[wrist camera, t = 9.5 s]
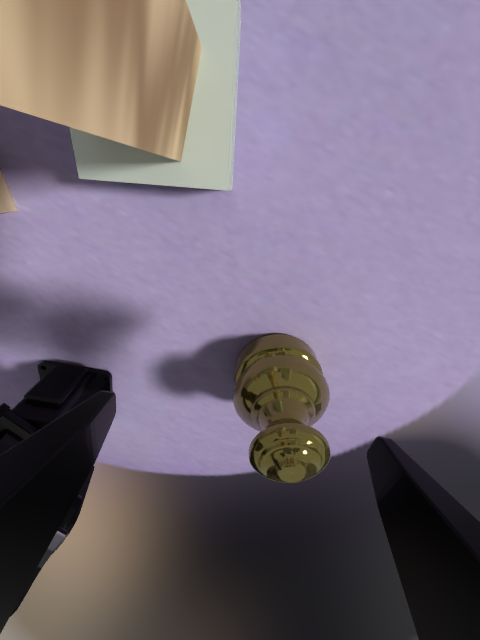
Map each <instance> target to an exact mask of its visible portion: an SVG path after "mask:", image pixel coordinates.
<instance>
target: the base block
mask: <svg viewBox="0 0 480 640" xmlns="http://www.w3.org/2000/svg"><path fill="white" fill-rule="evenodd" d="M186 2H187V5H188V8H189V11H190V14H191V17H192V20H193V23H194V26H195V28H196V31H197V34H198V37H199V40H200V43H201V46H202V50H201V55H200V61H199V66H198V72H197V77H196V83H195V88H194V93H193V99H192V104H191V110H190V115H189V121H188V126H187V131H186V137H185V142H184V148H183V153H182V159H181V162H180V161H177V160H174V159H170V158H167V157H164V156H161V155H158V154H154V153H151V152H148V151H145V150H142V149H138V148H135V147H132V146H129V145H126V144H123V143H119V142H116V141H113V140H110V139H107V138H103V137H100V136H97V135H94V134H91V133H87V132H84V131H81V130H78V129H75V128H71V127H69V129H70V134H71V140H72V145H73V150H74V155H75V161H76V166H77V171H78V176H79V179H89V180H101V181H114V182H126V183H139V184H151V185H164V186H176V187H189V188H201V189H214V190H226V191H229V190H231V189H232V184H233V165H234V145H235V126H236V106H237V87H238V67H239V48H240V28H241V4H240V0H186Z"/></svg>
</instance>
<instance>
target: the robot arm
mask: <svg viewBox="0 0 480 640" xmlns="http://www.w3.org/2000/svg"><path fill="white" fill-rule="evenodd" d="M38 370H39V375H40V381H39V382H38V383H37V384H36V385H35V386H34V387H33V388H32V389H30V390H29V391H28V392H27V393H26V394H25V395H24V399H23V400H22V401H21V402H20V403H18V404H17V405H16V406H15V407H14V408H13V409H12V410H11V409H9V408H10V407H9V406H8V405H6V404H5V403H3V404H1V405H0V633H1V632H2V630H3V628H4V626H5V624H6V622H7V621H8V619H9V617H10V616H11V615H12V614H14V612H15V611H16V610H17V609H18V607H19V606H20V604H21V602H22V601H23V599H24V597H25V595H26V594H27V592H28V590H29V589H30V587H31V585H32V583H33V581H34V580H35V578H36V577H37V575H38V573H39V572H40V570H41V568H42V567H43V565H44V564H45V563H46V561H47V560H48V558H49V557H50V555H51V554H52V553H54V551H55V550H56V549H57V548H58V547H59V546H60V545H61V544H62V542H63V541H64V540H65V538H66V537H67V536H68V534H69V533H70V531H71V529H72V528H73V526H74V524H75V522H76V520H77V518H78V516H79V513H80V511H81V508H82V504H83V501H84V498H85V495H86V492H87V489H88V486H89V483H90V479H91V476H92V474H93V470H94V466H93V465H94V463H95V461H96V459H97V457H98V454H99V452H100V450H101V447H102V445H103V443H104V440H105V438H106V436H107V433H108V431H109V429H110V426H111V424H112V422H113V419H114V417H115V413H116V396H115V393H114V392H113V391H112V375H111V374H110V373H109V372H107V371H101V370H96V369H90V368H84V367H78V366H72V365H66V364H61V363H55V362H49V361H42V362H41V363H40V364H39V365H38ZM106 377H107V378H106ZM367 460H368V464H369V470H370V474H371V479H372V483H373V488H374V493H375V498H376V502H377V505H378V509H379V513H380V516H381V519H382V522H383V526H384V529H385V532H386V535H387V538H388V542H389V545H390V548H391V552H392V555H393V558H394V561H395V564H396V567H397V571H398V574H399V577H400V581H401V584H402V587H403V590H404V593H405V597H406V600H407V603H408V606H409V610H410V613H411V616H412V619H413V622H414V626H415V629H416V632H417V635H418V639H419V640H480V521H478V520H477V519H476V518H475V517H474V516H473V515H472V514H471V513H470V512H469V511H468V510H467V509H466V508H464V506H462V505H461V504H460V503H459V502H458V501H457V500H456V499H455V498H454V497H453V496H452V495H451V494H450V493H449V492H447V491H446V490H445V489H444V488H443V487H442V486H441V485H440V484H439V483H438V482H437V481H436V480H435V479H434V478H433V477H431V476H430V475H429V474H428V473H427V472H426V471H425V470H424V469H423V468H422V467H421V466H420V465H419V464H418V463H417V462H415V461H414V460H413V459H412V458H411V457H410V456H409V455H408V454H407V453H406V452H405V451H404V450H403V449H401V448H400V447H399V446H398V445H397V444H396V443H395V442H394V441H393V440H392V439H390V438H387V437H381V436H378V437H377V438H376V439H375V440H374V442H373V443H372V445H371V446H370V448H369V449H368V451H367Z"/></svg>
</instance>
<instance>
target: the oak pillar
mask: <svg viewBox="0 0 480 640" xmlns="http://www.w3.org/2000/svg"><path fill="white" fill-rule="evenodd" d="M201 50H202V46H201V43H200V40H199V37H198V34H197V31H196V28H195V26H194V23H193V20H192V17H191V14H190V11H189V8H188V5H187V2H186V0H0V105H1V106H4V107H7V108H11V109H14V110H17V111H20V112H23V113H27V114H30V115H33V116H36V117H39V118H43V119H46V120H49V121H52V122H55V123H59V124H62V125H65V126H68V127H71V128H75V129H78V130H81V131H84V132H87V133H91V134H94V135H97V136H100V137H103V138H107V139H110V140H113V141H116V142H119V143H123V144H126V145H129V146H132V147H135V148H138V149H142V150H145V151H148V152H151V153H154V154H158V155H161V156H164V157H167V158H170V159H174V160H177V161H180V162H181V159H182V153H183V148H184V142H185V137H186V131H187V126H188V121H189V115H190V110H191V104H192V99H193V93H194V88H195V83H196V77H197V72H198V66H199V61H200V55H201Z"/></svg>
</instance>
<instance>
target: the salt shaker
mask: <svg viewBox="0 0 480 640" xmlns="http://www.w3.org/2000/svg"><path fill="white" fill-rule="evenodd" d="M234 384H235V388H234V393H233V403H234V407H235V410H236V412H237V414H238V415H239V417H240V418H241V419H242V420H243V421H244V422H245V423H246V424H247V425H248V426H250V427H251V428H253V429H255V430H257V431H260V433H259V434H258V435H257V436H256V437H255V438H254V439H253V440H252V442H251V444H250V447H249V459H250V463H251V465H252V467H253V468H254V469H255V470H256V471H257V472H258V473H259V474H261V475H262V476H264V477H266V478H268V479H271V480H274V481H278V482H285V483H295V482H300V481H304V480H306V479H309V478H311V477H313V476H315V475H317V474H318V473H319V472H321V471H322V470H323V469H324V468H325V466H326V465H327V464H328V462H329V460H330V447H329V444H328V441H327V440H326V438H325V437H324V436H323V435H322V434H321V433H320V432H319V431H317V430H316V429H314V428H312V427H310V426H312V425H313V424H315V423H316V422H317V421H318V420H319V419H320V418H321V417H322V416H323V414H324V413H325V411H326V409H327V407H328V403H329V397H330V394H329V387H328V384H327V382H326V380H325V378H324V377H323V373H322V369H321V366H320V364H319V363H318V361H317V359H316V356H315V354H314V352H313V350H312V349H311V348H310V346H309V345H308V344H306V343H305V342H304V341H302V340H300V339H298V338H296V337H293V336H290V335H284V334H273V335H267V336H264V337H261V338H258V339H256V340H254V341H253V342H251V343H250V344H248V345H247V346H246V347H245V348H244V349H243V350H242V352H241V353H240V355H239V357H238V360H237V363H236V373H235V378H234Z"/></svg>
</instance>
